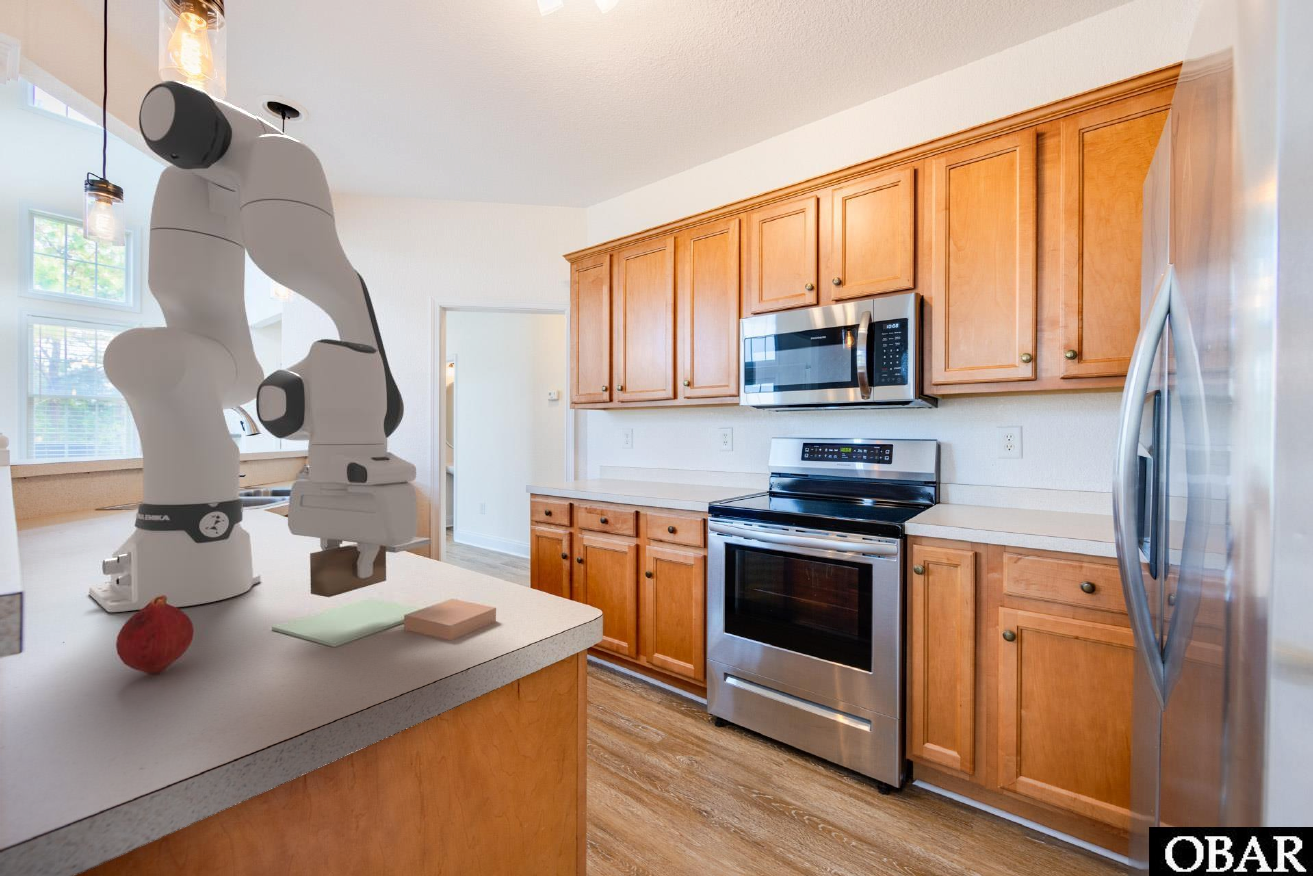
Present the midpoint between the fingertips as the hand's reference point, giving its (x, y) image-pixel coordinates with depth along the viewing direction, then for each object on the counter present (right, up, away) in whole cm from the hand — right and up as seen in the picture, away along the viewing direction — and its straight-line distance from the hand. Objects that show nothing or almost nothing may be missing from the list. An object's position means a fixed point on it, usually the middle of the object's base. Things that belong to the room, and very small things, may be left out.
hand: (349, 574), depth 71 cm
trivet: (-1, -7, +2) cm, 7 cm away
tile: (+11, -6, -2) cm, 12 cm away
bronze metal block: (+1, -2, +3) cm, 3 cm away
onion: (-12, -7, -14) cm, 20 cm away
